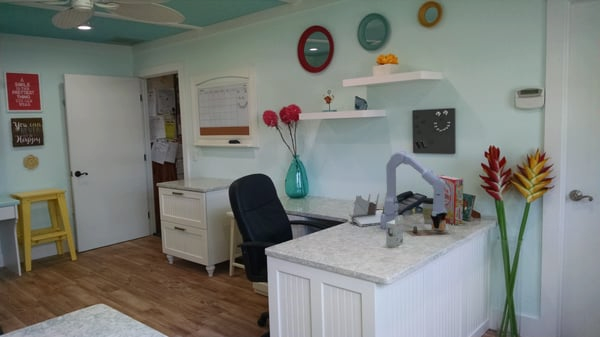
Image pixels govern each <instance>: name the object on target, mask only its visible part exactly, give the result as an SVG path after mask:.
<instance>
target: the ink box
mask: <svg viewBox="0 0 600 337" xmlns="http://www.w3.org/2000/svg"><path fill="white" fill-rule="evenodd" d="M398 218H400V220H398ZM385 228H386V229H385V231H386V234H385V236H386V244H385V246H386V247H389V248H397V247H399V246H401V245H402V244H401V243H403V242H404V216H403V214H400V215H398V217H395V220H392V221H390V222H387V223H386V227H385Z"/></svg>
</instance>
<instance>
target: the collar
mask: <svg viewBox="0 0 600 337" xmlns="http://www.w3.org/2000/svg"><path fill="white" fill-rule="evenodd" d="M446 228H447V223H446V220H440V224H439V228H438V229H437V228H434V224H433V221H432V224H431V230H433V229H434V230H441V231H442V230H446Z"/></svg>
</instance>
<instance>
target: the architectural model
mask: <svg viewBox="0 0 600 337" xmlns="http://www.w3.org/2000/svg"><path fill="white" fill-rule="evenodd" d="M371 197H372V195H371V193H369V194H368V199H365V198H363V196H362V195H361V194H359V195H358V194H356V197H355V202H353V204H354V207H353V210H352V211H353V212H349V214H348V215H349V216H350V220H351V224H354V222H355V223H356V225H357V226H359V227H360V228H365V227H374V226H380V218H381V215H382V214H385V211H384V206H385V201H386V198H387V192H386V193H385V198H384V202H383V208H382V209H379V210H378V203H379V198H380V193H377V195H376V199H375V200H371ZM398 220H400V218H398Z"/></svg>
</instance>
